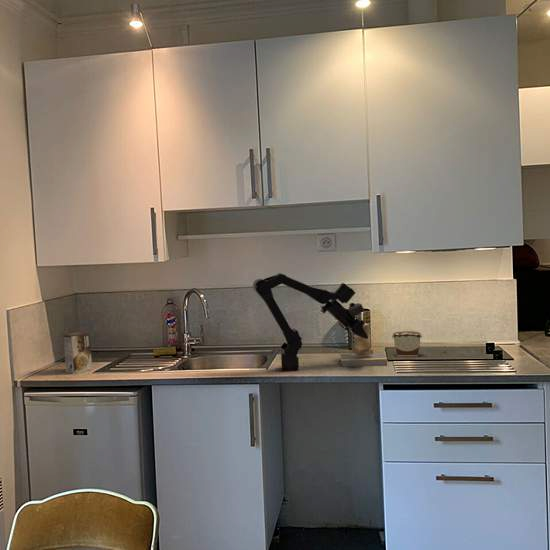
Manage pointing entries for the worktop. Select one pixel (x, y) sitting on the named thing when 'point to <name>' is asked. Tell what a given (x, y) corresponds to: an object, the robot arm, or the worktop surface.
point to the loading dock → (363, 360)
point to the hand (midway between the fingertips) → (365, 337)
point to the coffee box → (77, 352)
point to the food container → (407, 342)
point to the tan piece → (362, 343)
